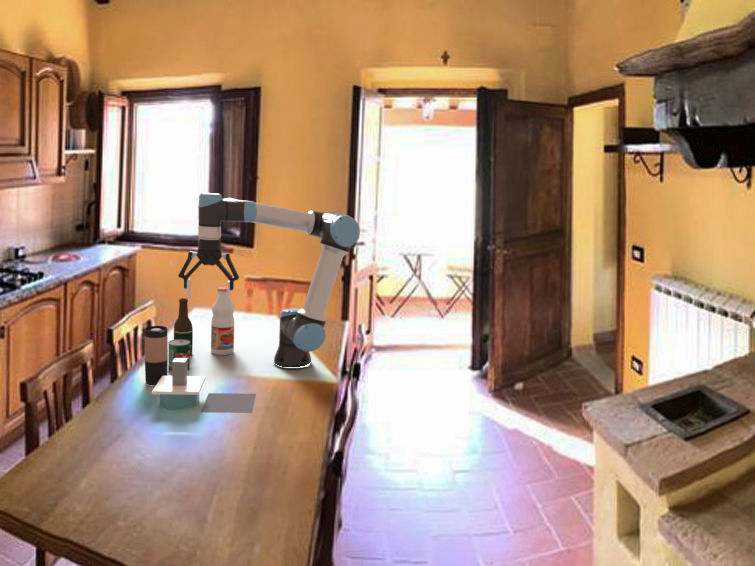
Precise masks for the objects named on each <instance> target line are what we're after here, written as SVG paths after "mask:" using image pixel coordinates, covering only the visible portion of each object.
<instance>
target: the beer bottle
mask: <svg viewBox="0 0 755 566" xmlns="http://www.w3.org/2000/svg"><path fill="white" fill-rule="evenodd" d="M178 303H179V306H178V315H177V319H176V320H175V322H174V325H173V340H175V339H185V340H189V341H190V358H191V357H192V356H193V336H194V335H193V333H194V332H193V331H194V330H193V324H192V321H191V319H190V317H189V306H188V303H189V300H188V299H187V297H186V298H183V297H182V298H179V299H178Z"/></svg>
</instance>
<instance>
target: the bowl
mask: <svg viewBox="0 0 755 566" xmlns="http://www.w3.org/2000/svg"><path fill="white" fill-rule="evenodd" d="M158 395H159V406H161V407H163V408H165V409H167V410H185V409H188V408H191V407H192V408H193V407H195V406H197V405H198V403H199V401H200V393H199V394H198V395H181V394H158Z"/></svg>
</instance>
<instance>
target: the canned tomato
mask: <svg viewBox="0 0 755 566" xmlns="http://www.w3.org/2000/svg"><path fill="white" fill-rule="evenodd" d="M175 358H188V372H189V371H190V370H191V357H190V341H189V340H185V339H175V340H174V339H173V340H169V341H168V366H167V372H170V373H172V362H173V360H174V359H175Z"/></svg>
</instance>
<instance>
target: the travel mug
mask: <svg viewBox="0 0 755 566" xmlns="http://www.w3.org/2000/svg"><path fill="white" fill-rule="evenodd" d="M168 338H169V337H168V327H166V326H164V325H151V326H147V327H145V328H144V371H145V373H144V374H145V375H144V378H145V384H146V385H147V386H154V387H155V386H156V385H157V383H158V382H159V380H160V379H161V377H162V376H168V359H169V358H168V357H169V356H168V355H169V354H168V353H169V352H168V351H169V350H168V349H169V348H168V347H169V344H168V342H169V341H168Z"/></svg>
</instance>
